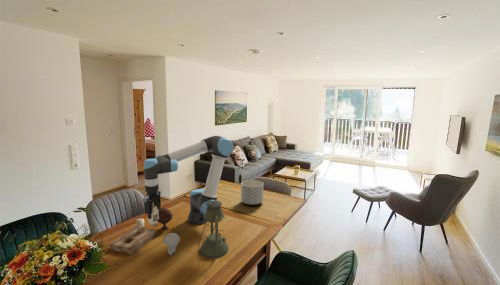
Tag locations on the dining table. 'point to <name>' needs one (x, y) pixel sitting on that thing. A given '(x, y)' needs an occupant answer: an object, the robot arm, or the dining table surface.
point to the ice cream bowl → (164, 217)
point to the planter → (252, 192)
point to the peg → (154, 216)
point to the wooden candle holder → (133, 238)
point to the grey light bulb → (171, 242)
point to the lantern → (214, 242)
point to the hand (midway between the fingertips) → (153, 221)
